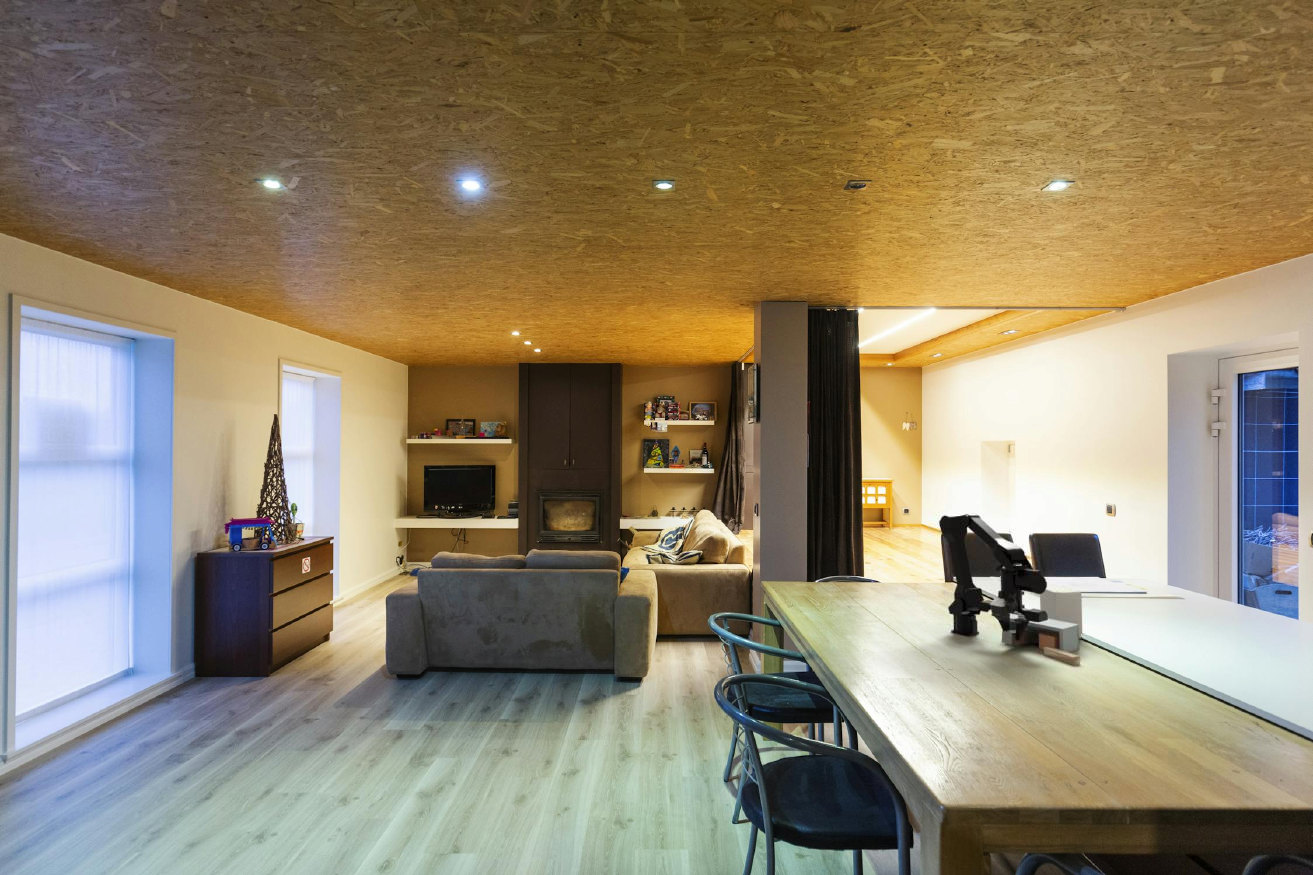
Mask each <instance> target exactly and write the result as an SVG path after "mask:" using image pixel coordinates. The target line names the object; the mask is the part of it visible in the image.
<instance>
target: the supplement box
mask: <svg viewBox="0 0 1313 875" xmlns="http://www.w3.org/2000/svg"><path fill="white" fill-rule="evenodd" d="M1039 602H1040V603H1039V607H1040V608H1039V610H1045V611H1046V613H1047V614H1048V619H1053V620H1058V621H1063V622H1069V623H1074V624H1079V639H1082V638H1081V634H1082V635H1083V604H1082V602H1083V600H1082V592H1081V591H1078V590H1075V589H1072V588H1069V587H1067V586H1066V587H1065V586H1059V587H1058V586H1056V587H1055V586H1054V587H1053V586H1052V587H1051V586H1050V587H1048V586H1047V587H1046V590H1045V591H1044V593H1042V594H1039Z"/></svg>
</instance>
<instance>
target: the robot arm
mask: <svg viewBox="0 0 1313 875" xmlns="http://www.w3.org/2000/svg"><path fill="white" fill-rule="evenodd" d="M938 524H939V528H940V531H941V534H942V536H943V537H944V538H945V539H946V541H947V542H948V545H949V551H950V556H951V560H952V565H953V570H954V576H955V581H956V586H955V589H954V592H953V597H954V598H953V601H952V602H951V603H950V605H949V606H947V609H948V614H950V615H952V616H953V629H951V630H950V632H951V633H955V634H958V635H962V636H966V637H970V636H973V635H978V634H980V631H979V630H978V620H977V616H980V615H981V612H984V613H988V612H990V611H991V616H992V617H994V618H995V619H996V620H997V621H998V623H999V625H1000V628H1001V629H1002V631H1007V630H1009V629H1010V615H1013V614H1015V615H1018V618H1016V619H1014V621H1015V623H1016V640H1017V641H1018V640H1020V638H1021V636H1022V634H1023V632H1024V630H1025V628H1026V626H1027V624H1028V623H1029V621H1032V622H1042V621H1046V620H1048V614H1047V613H1046V611H1045V610H1040V608H1039V609H1038V608H1031V609H1025V604H1023V596H1025V592H1027V593H1031V594H1036V595H1040V594H1042V593H1044V591H1045V590H1046V587H1048V582H1047V580H1046V578H1045V576H1044V575H1042V571H1041V570H1038V569H1035V570H1034V567H1033V566H1032V564H1031V563H1030V561H1029V559H1028V558H1027V555H1026V554H1025V551H1024V549H1023V548H1022V547H1020V546H1018V545H1017V544H1015V543H1013V541H1008V540H1006V539H1005V538H1003V537H1002V536H1001V535H1000V534H998V532H996V531H995V530H994V529H993V528H992V527H991V526H990V525H989V524H988V523H986V522H985V521H984V520H983V519H982V518H981V516H980V515H979V514H977V513H965V514H963V515H962V514H952V515H951V514H949V515H948V514H947V515H946V514H945V515H943V516H941V518H940V520H939V521H938ZM968 529H969V530H970V531H972V533H973V534H974V535H975V536H976V537H978V539H979V540H981V541H982V542H983V544H985V545H986V546H987V547H988V548H989V549H990V550H991V554H992V557H993V558H994V559H995V560H996V561H997V563H998V564H999V565H998V566H997V567H995V568H994V571H995V572H998V573H1000V590H998V593H997V597H996V598H994V599H992V600H989V599H987V600H985V599H984V596H983V590H982V588H981V587H977V586H976V584H975V583H974V580H973V575H972V571H971V565H970V562H969V561H970V560H969V557H968V550H967V546H966V542H965V541H966V538H967V534H968Z"/></svg>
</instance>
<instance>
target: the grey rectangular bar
mask: <svg viewBox="0 0 1313 875" xmlns="http://www.w3.org/2000/svg"><path fill="white" fill-rule="evenodd" d="M1040 633H1044V632H1041V631H1036V630H1031V629H1027V628H1025V630H1024V632H1023V634H1022V636H1021V638H1020V640H1018V641H1017V640H1016V630H1007V631H1003V630H1002V632H1001V643H1003V644H1008V645H1028V644H1032V645H1033V644H1039V634H1040Z"/></svg>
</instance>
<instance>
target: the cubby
mask: <svg viewBox="0 0 1313 875" xmlns="http://www.w3.org/2000/svg"><path fill="white" fill-rule="evenodd" d="M1016 618H1018V615H1015V614H1010V629H1009V630H1016V623H1015V621H1014V619H1016ZM1026 628H1027V629H1031V630H1036V631H1041V632H1050V633H1055V634H1059V635H1060V650H1062V651H1065V652H1068V653H1072V652H1075V651H1078V650H1080V638H1079V624H1074V623H1069V622H1063V621H1058V620H1053V619H1048V620H1046V621H1042V622H1032V621H1029V623H1028V624H1027V626H1026Z"/></svg>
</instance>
